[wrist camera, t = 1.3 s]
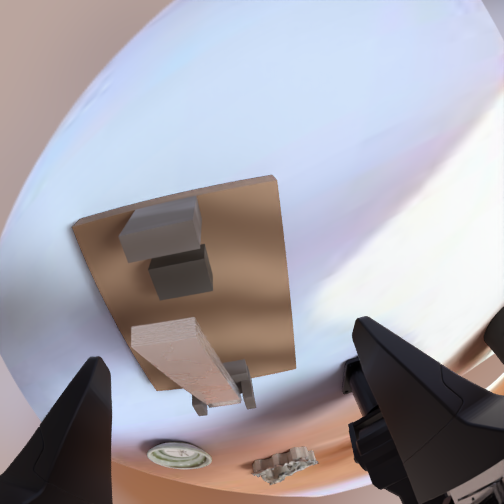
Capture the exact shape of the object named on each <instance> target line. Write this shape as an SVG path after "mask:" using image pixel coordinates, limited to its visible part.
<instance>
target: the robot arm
mask: <svg viewBox="0 0 504 504" xmlns="http://www.w3.org/2000/svg"><path fill="white" fill-rule="evenodd" d="M352 339H353V342H354V345H355V348H356V351H357V354H358V358H355V359H352V360H349V361H347V362H346V364H345V371H344V379H343V386H342V392H343V394H347V393H350V392H352V393H353V395H354V397H355V400H356V402H357V404H358V407H359V409H360V411H361V414H362V416H363V417H362V418H360V419H359V420H357V421H355V422H352V423H350V424H348V426H349V434H350V439H351V443H352V448H353V453H354V460H355V462H356V463H358V464H360V466H361V467H362V468H363V469H364V470H365V471H368V473H369V475H370V478H371V481H372V484H373V485H374V486H376V487H377V488H378V489H386V490H388V491H389V492H391V493H393V494H395V495H397V496H399V497H400V499H401V501H402V504H504V396H503V395H497V394H494V393H492V392H490V391H488V390H486V389H484V388H482V387H480V386H478V385H476V384H474V383H472V382H470V381H468V380H467V379H465V378H463V377H461V376H459V375H458V374H456V373H455V372H453V371H451V370H450V369H448V368H447V367H445V366H444V365H442V364H441V365H440V363H439V362H437V361H436V360H434V359H433V358H431V357H430V356H428V355H427V354H425V353H424V352H422V351H421V350H419V349H418V348H416V347H414V346H413V345H411V344H410V343H408V342H407V341H405V340H404V339H402V338H401V337H399V336H398V335H396V334H394V333H393V332H391V331H390V330H388V329H387V328H385V327H384V326H382V325H381V324H379V323H378V322H376V321H374V320H373V319H371V318H370V317H368V316H364V317H360V318H357V319H356V321H355V325H354V329H353V332H352ZM111 431H112V399H111V374H110V371H109V369H108V367H107V366H106V364H105V363H104V361H103V359H102V358H101V357H99V356H96V357H90V358H88V360H87V361H86V362H85V364H84V365H83V366H82V367H81V369H80V370H79V371H78V373H77V374H76V375H75V377H74V378H73V379H72V381H71V382H70V383H69V385H68V386H67V388H66V389H65V390H64V392H63V393H62V394H61V396H60V397H59V399H58V400H57V401H56V403H55V404H54V406H53V407H52V408H51V410H50V411H49V413H48V414H47V416H46V417H45V418H44V420H43V421H42V423H41V424H40V427H38V429H37V430H36V431H35V433H34V434H33V436H32V437H31V439H30V440H29V442H28V443H27V444H26V446H25V447H24V448H23V449H22V451H21V452H20V453H19V454H18V456H17V457H16V458H15V459H14V461H13V462H12V463H11V464H10V466H9V467H8V468H7V469H6V471H5V472H4V473H3V474H1V475H0V504H113V503H112V483H111Z"/></svg>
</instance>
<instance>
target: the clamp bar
mask: <svg viewBox="0 0 504 504" xmlns="http://www.w3.org/2000/svg"><path fill="white" fill-rule="evenodd" d="M131 347H132V348H133V349H134V350H135V351H136V352H138V353H139V354H140V355H141V356H142V357H144V358H145V359H146V360H147V361H149V362H150V363H151V364H152V365H153V366H155V367H156V368H157V369H159V370H160V371H161V372H162V373H164V374H165V375H166V376H168V377H169V378H170V379H171V380H173V381H174V382H175V383H177V384H178V385H180V386H181V387H182V388H184V389H185V390H186V391H188V392H189V393H191V394H192V395H193V396H195V397H196V398H198V399H199V400H201V401H202V402H204V403H205V404H207V405H208V406H209V408H211V407H218V406H225V405H232V404H238V403H241V401H242V400H241V395H240V390H239V388H238V387H237V385H236V384H235V382H234V381H233V379H232V378H231V376H230V374H229V373H228V371H227V370H226V368H225V367H224V365H223V363H222V362H221V360H220V359H219V357H218V355H217V354H216V352H215V351H214V349H213V347H212V346H211V344H210V342H209V341H208V339H207V337H206V336H205V334H204V332H203V330H202V329H201V327H200V325H199V324H198V322H197V320H196V318H195V317H191V318H185V319H179V320H172V321H166V322H160V323H153V324H147V325H140V326H133V327H131Z"/></svg>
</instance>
